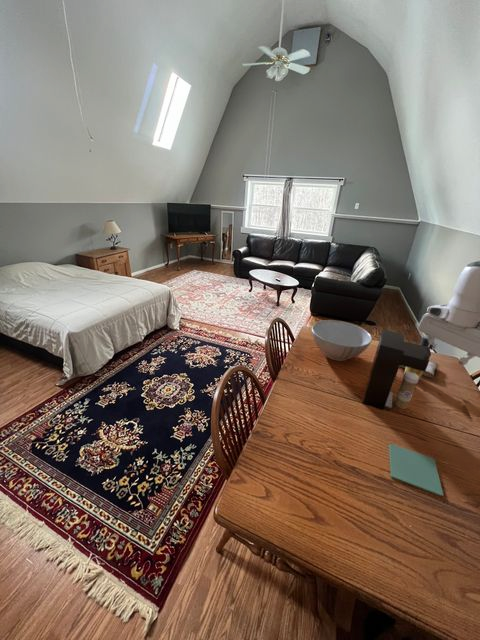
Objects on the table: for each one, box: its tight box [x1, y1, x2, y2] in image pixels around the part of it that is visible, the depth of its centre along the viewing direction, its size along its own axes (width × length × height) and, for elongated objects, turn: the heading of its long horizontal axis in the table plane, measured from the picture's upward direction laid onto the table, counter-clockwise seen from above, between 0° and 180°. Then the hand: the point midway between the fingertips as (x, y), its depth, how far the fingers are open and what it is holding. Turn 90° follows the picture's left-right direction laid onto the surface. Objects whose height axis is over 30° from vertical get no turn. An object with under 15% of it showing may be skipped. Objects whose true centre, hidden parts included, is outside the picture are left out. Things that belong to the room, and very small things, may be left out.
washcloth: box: [399, 360, 437, 378], centre depth 124 cm, size 12×18×3 cm, turn 50°
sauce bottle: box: [403, 334, 436, 380], centre depth 111 cm, size 7×6×20 cm
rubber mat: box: [388, 443, 444, 498], centre depth 76 cm, size 12×12×1 cm
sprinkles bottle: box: [393, 371, 420, 410], centre depth 97 cm, size 5×5×13 cm
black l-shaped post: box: [362, 329, 430, 411], centre depth 96 cm, size 14×14×25 cm
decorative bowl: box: [311, 319, 373, 362], centre depth 128 cm, size 27×27×12 cm
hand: (445, 355), depth 85 cm, fingers open, 8 cm apart
